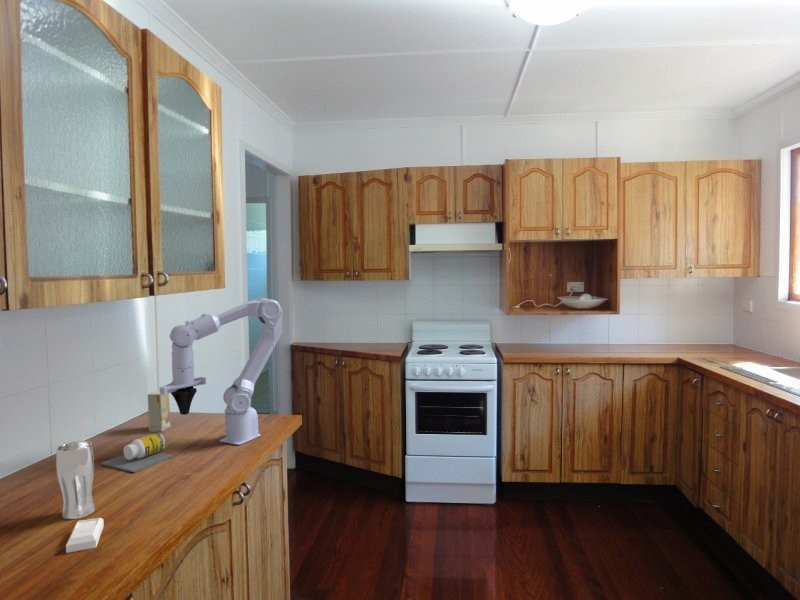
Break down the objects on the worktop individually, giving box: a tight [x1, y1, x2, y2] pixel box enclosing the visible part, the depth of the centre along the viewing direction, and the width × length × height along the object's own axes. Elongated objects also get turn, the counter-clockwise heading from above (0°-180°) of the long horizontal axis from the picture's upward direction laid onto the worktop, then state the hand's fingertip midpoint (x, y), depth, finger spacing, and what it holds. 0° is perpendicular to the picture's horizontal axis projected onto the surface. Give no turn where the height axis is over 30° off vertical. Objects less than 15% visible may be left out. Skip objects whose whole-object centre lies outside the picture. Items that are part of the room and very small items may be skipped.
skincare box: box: [147, 389, 171, 433], centre depth 173 cm, size 6×4×12 cm
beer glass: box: [55, 440, 96, 520], centre depth 116 cm, size 7×7×15 cm
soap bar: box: [65, 517, 105, 554], centre depth 106 cm, size 5×9×3 cm, turn 21°
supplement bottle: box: [122, 432, 166, 460], centre depth 148 cm, size 5×5×10 cm
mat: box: [101, 451, 173, 474], centre depth 146 cm, size 12×13×1 cm
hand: (184, 413), depth 154 cm, fingers closed
